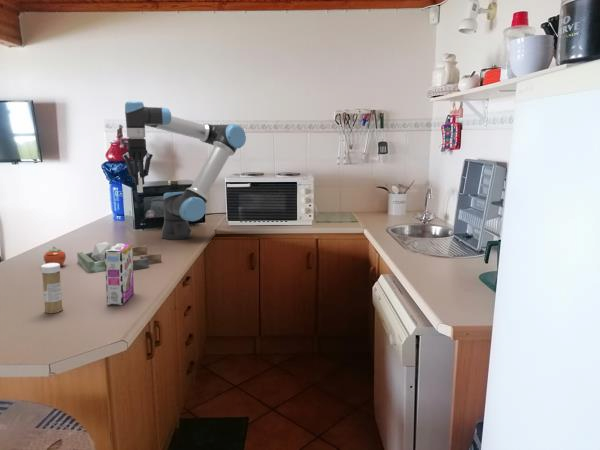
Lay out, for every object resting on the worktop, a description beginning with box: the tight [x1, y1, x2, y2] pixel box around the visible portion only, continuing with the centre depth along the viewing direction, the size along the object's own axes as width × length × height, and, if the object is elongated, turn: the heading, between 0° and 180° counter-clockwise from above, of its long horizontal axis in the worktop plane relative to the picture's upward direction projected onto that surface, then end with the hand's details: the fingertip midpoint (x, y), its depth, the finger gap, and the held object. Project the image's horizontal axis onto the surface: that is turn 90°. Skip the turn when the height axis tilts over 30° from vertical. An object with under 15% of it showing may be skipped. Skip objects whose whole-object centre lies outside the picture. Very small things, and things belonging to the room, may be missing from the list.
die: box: [91, 241, 114, 262], centre depth 173 cm, size 8×9×10 cm
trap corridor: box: [76, 245, 162, 274], centre depth 173 cm, size 27×27×4 cm
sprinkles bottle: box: [40, 263, 64, 314], centre depth 121 cm, size 5×5×14 cm
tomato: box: [43, 245, 67, 268], centre depth 165 cm, size 7×7×8 cm
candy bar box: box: [105, 243, 135, 306], centre depth 132 cm, size 11×5×16 cm, turn 5°
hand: (140, 192), depth 195 cm, fingers closed
